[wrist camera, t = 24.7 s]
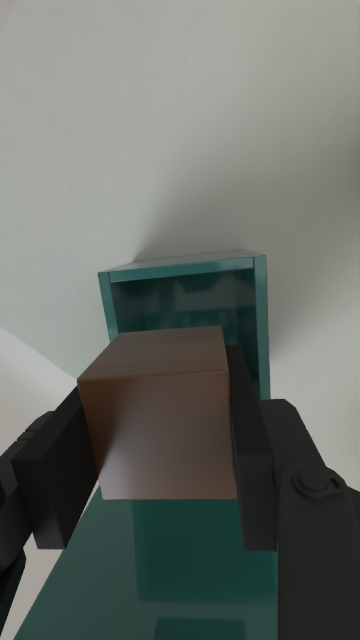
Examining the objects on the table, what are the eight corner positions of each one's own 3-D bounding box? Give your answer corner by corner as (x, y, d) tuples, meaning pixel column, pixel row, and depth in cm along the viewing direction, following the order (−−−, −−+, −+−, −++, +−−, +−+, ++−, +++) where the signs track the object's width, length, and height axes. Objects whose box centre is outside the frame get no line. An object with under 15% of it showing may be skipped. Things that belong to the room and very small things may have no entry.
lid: (-5, 669, 9) (30, 854, 10) (383, 691, 8) (387, 902, 9) (125, 437, 24) (135, 522, 24) (272, 431, 22) (278, 521, 23)
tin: (131, 261, 30) (97, 272, 21) (246, 249, 29) (266, 255, 19) (149, 382, 33) (127, 438, 24) (252, 375, 32) (271, 432, 23)
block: (119, 332, 13) (75, 379, 9) (221, 324, 12) (229, 370, 8) (134, 421, 14) (102, 501, 10) (228, 417, 14) (238, 500, 9)
